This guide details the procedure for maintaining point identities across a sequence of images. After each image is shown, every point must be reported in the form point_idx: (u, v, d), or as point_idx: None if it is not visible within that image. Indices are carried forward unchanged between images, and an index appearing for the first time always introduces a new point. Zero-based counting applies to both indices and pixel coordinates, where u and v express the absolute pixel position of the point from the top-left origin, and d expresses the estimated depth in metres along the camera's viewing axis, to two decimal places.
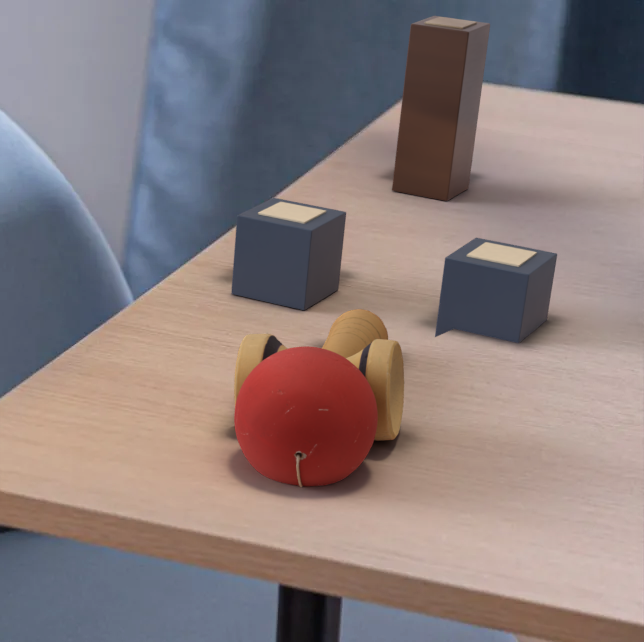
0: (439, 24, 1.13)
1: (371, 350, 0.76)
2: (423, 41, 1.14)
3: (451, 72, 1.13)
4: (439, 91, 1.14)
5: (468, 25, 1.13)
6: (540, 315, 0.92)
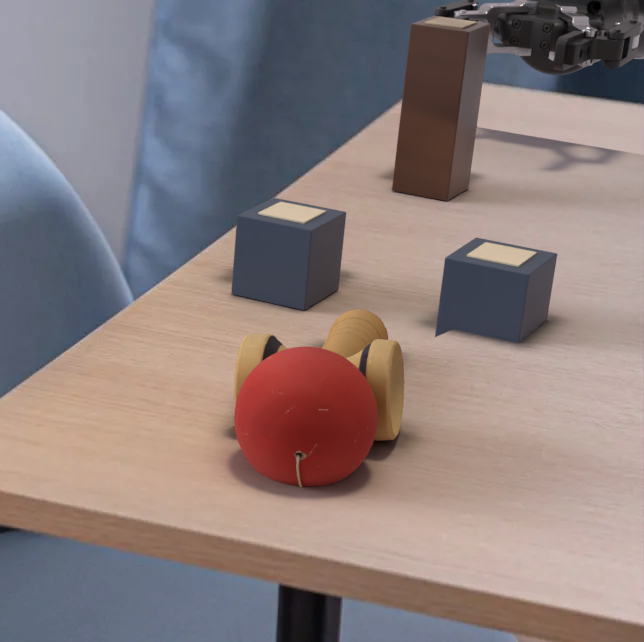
0: (439, 24, 1.13)
1: (371, 350, 0.76)
2: (423, 41, 1.14)
3: (451, 72, 1.13)
4: (439, 91, 1.14)
5: (468, 25, 1.13)
6: (540, 315, 0.92)
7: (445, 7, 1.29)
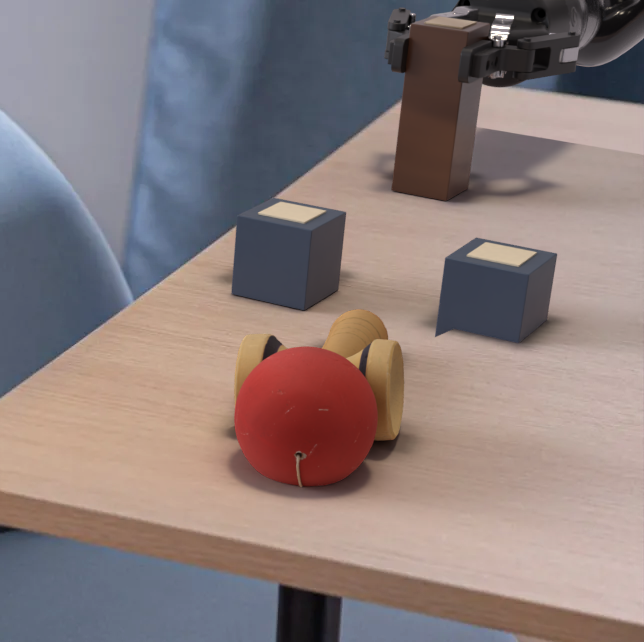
0: (439, 24, 1.13)
1: (371, 350, 0.76)
2: (423, 41, 1.14)
3: (450, 72, 1.13)
4: (438, 91, 1.14)
5: (468, 25, 1.13)
6: (540, 315, 0.92)
7: (400, 21, 1.18)
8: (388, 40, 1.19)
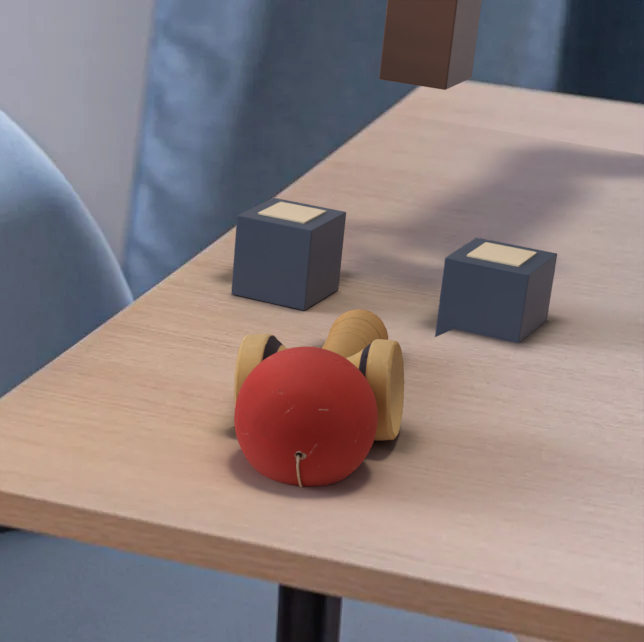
0: None
1: (371, 350, 0.76)
2: None
3: None
4: None
5: None
6: (540, 315, 0.92)
7: None
8: None
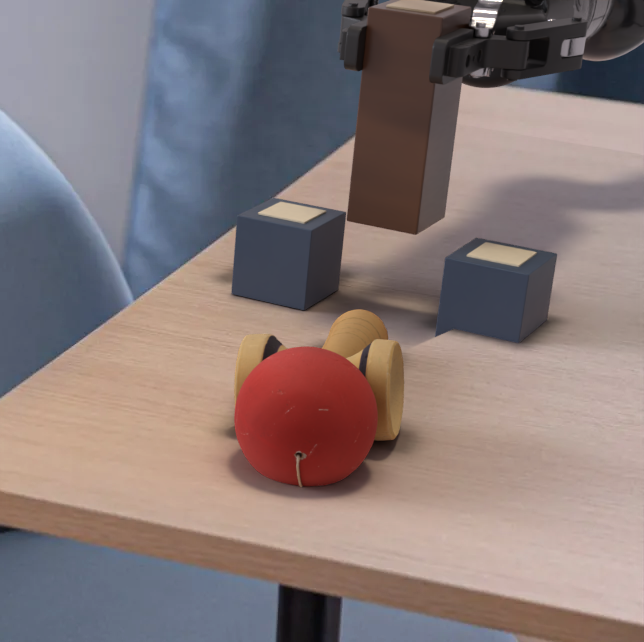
0: (405, 8, 0.88)
1: (371, 350, 0.76)
2: (385, 30, 0.88)
3: (420, 70, 0.88)
4: (405, 94, 0.89)
5: (442, 9, 0.88)
6: (540, 315, 0.92)
7: None
8: (342, 29, 0.93)
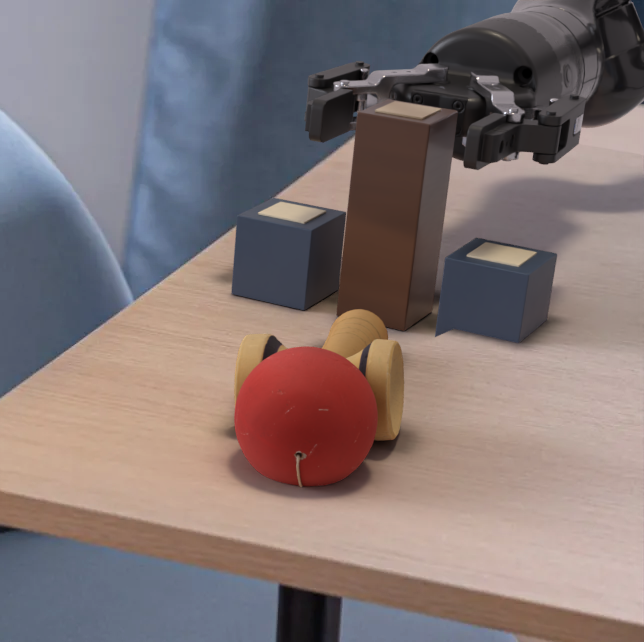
0: (393, 113, 0.90)
1: (371, 350, 0.76)
2: (373, 134, 0.90)
3: (407, 174, 0.90)
4: (393, 196, 0.91)
5: (430, 114, 0.90)
6: (540, 315, 0.92)
7: (322, 75, 0.96)
8: (308, 99, 0.96)
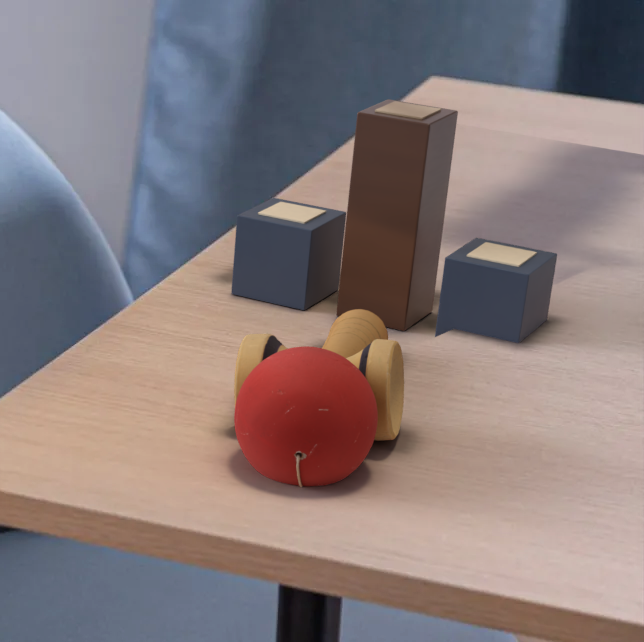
0: (393, 113, 0.90)
1: (371, 350, 0.76)
2: (373, 134, 0.90)
3: (407, 174, 0.90)
4: (393, 196, 0.91)
5: (429, 114, 0.90)
6: (540, 315, 0.92)
7: None
8: None
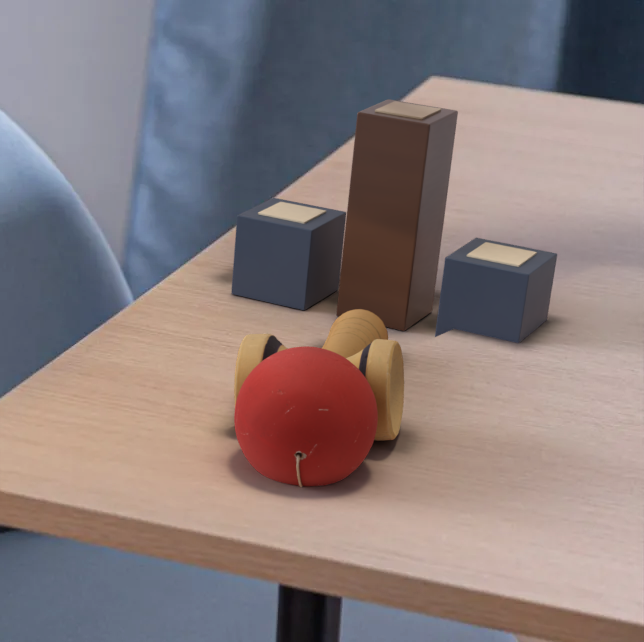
0: (393, 113, 0.90)
1: (371, 350, 0.76)
2: (373, 134, 0.90)
3: (407, 174, 0.90)
4: (393, 196, 0.91)
5: (430, 114, 0.90)
6: (540, 315, 0.92)
7: None
8: None
